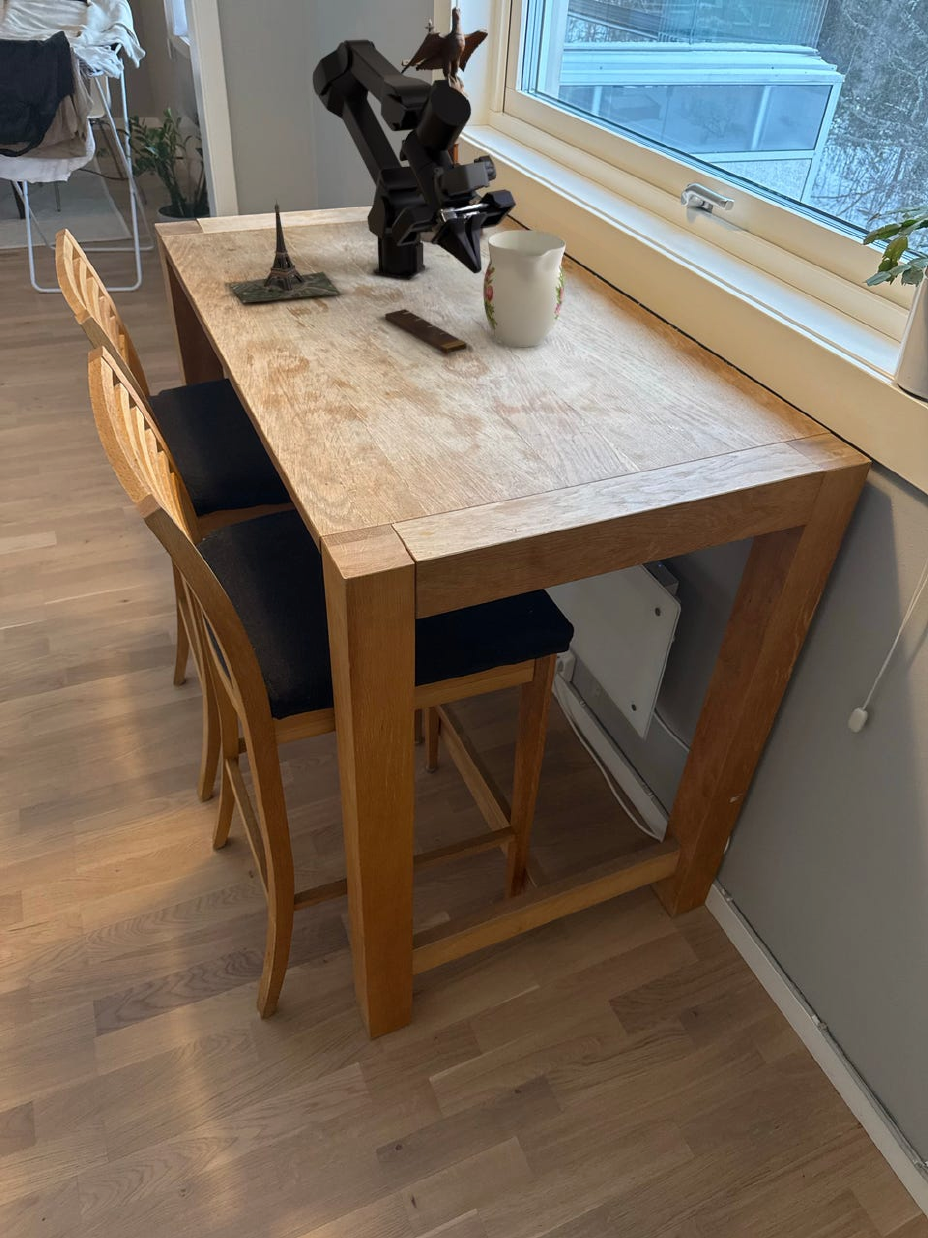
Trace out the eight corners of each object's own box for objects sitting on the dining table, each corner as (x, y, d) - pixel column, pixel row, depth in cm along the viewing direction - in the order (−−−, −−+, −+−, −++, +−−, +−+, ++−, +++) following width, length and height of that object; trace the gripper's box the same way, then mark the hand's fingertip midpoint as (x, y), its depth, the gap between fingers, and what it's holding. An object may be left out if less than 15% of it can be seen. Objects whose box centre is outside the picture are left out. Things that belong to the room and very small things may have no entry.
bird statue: (390, 221, 167) (384, -6, 145) (453, 214, 172) (458, -7, 149) (424, 248, 156) (423, 5, 134) (491, 240, 160) (502, 4, 138)
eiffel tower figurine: (242, 307, 132) (230, 211, 124) (229, 284, 140) (216, 192, 131) (340, 296, 137) (335, 203, 128) (322, 274, 144) (316, 185, 136)
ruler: (385, 319, 130) (384, 312, 130) (404, 314, 132) (404, 308, 132) (445, 354, 121) (446, 347, 121) (466, 348, 123) (466, 342, 123)
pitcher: (549, 312, 134) (558, 215, 126) (566, 361, 121) (577, 257, 112) (476, 311, 134) (480, 214, 125) (485, 361, 120) (490, 256, 111)
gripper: (402, 142, 116) (450, 253, 117) (512, 127, 125) (556, 230, 126) (371, 192, 126) (416, 294, 127) (475, 175, 135) (517, 270, 136)
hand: (478, 271), depth 128 cm, fingers closed
